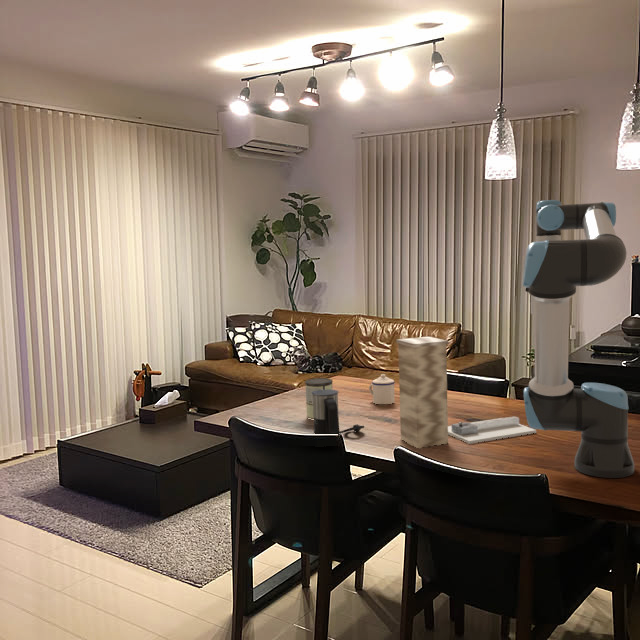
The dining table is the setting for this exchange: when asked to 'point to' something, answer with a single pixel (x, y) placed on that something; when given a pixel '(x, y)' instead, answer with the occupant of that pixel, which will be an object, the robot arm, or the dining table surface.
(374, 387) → the teacup with lid
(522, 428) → the mat
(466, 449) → the dining table surface
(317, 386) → the coffee can
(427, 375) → the beige zigzag tall box
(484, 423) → the brushed metal bar
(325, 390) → the milk frother
